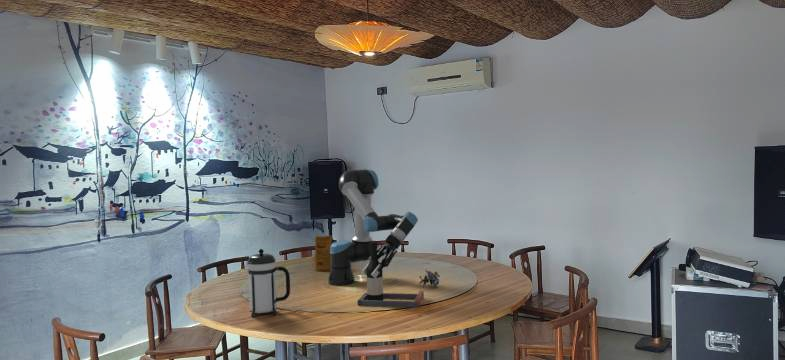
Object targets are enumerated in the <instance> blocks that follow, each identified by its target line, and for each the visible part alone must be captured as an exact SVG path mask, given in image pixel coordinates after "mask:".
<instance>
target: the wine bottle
mask: <svg viewBox="0 0 785 360" xmlns="http://www.w3.org/2000/svg"><path fill="white" fill-rule="evenodd" d="M370 245H371V260H370V261H368V263H369V264H368V263H367V264H368V266H367V265H366V266H367V267H366V266H365V267H366V268H367V275H366V293H367V300H381V301H384V299H383V293H384V286H383V283H384V282H383V281H384V280H383V278H384V275H383V269H382V270H381V272H380V273H379V274H378V275H377V277H376V278H374V277H373V276H372V275H371V274H372V273H373V271H374V270H375V269H376V267H377V266H378V265H379V264H380V263H381V262H379V259H377V249H378V242H377V240H372V241H371V242H370ZM380 265H381V264H380Z"/></svg>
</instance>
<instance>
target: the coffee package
mask: <svg viewBox="0 0 785 360" xmlns="http://www.w3.org/2000/svg"><path fill="white" fill-rule="evenodd" d="M332 240H333V236H332V235H324V236H321V235H315V239H314V242H315V245H314V246H315V249H314V252H315V253H314V257H313V265H314V271H315V272H320V271H323V272H325V271H328V272H329V271H331V258H330V246H331V244H333V241H332Z"/></svg>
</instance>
